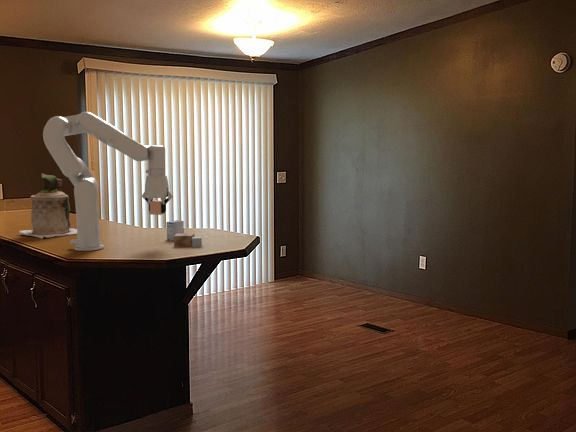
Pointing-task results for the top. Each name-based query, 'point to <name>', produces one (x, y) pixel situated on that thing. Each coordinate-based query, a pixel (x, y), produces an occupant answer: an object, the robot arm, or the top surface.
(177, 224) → the medicine box
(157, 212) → the terracotta block
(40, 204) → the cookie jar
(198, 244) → the slate block
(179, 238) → the walnut block
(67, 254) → the top surface
